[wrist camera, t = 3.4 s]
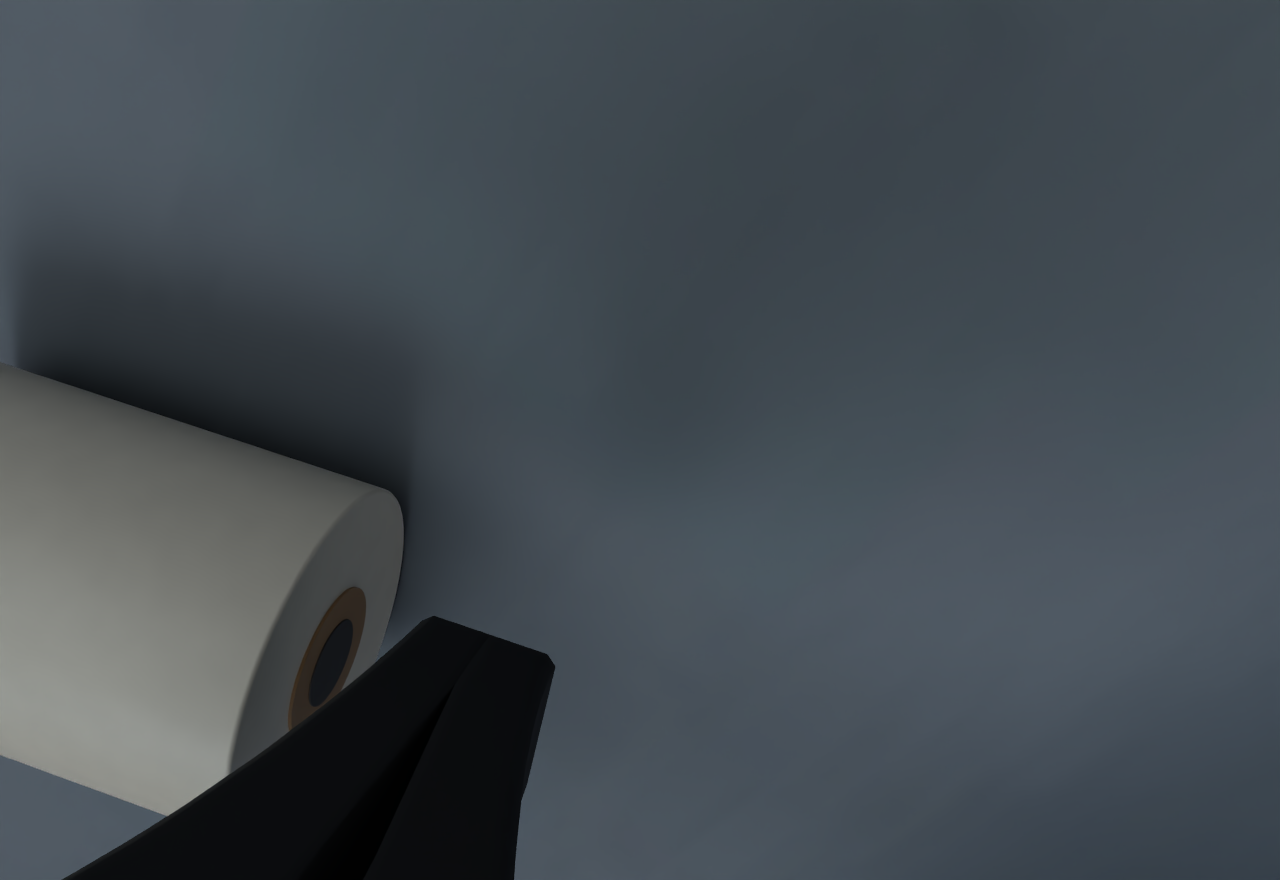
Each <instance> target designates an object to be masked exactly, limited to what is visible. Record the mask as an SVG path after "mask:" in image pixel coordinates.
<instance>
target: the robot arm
mask: <svg viewBox="0 0 1280 880" xmlns="http://www.w3.org/2000/svg"><path fill="white" fill-rule="evenodd" d="M554 670H555V665H554V664H553V662H552V661H551V659H550V658H549V656H548V655H547V654H545V653H542V652H539V651H536V650H533V649H530V648H527V647H524V646H521V645H519V644H516V643H513V642H510V641H507V640H504V639H501V638H498V637H495V636H492V635H489V634H486V633H483V632H480V631H477V630H474V629H471V628H468V627H465V626H462V625H460V624H457V623H454V622H451V621H448V620H445V619H442V618H439V617H436V616H432V617H430V618H428V619H425V620H423V621H421V622H420V623H419V624H418V625H417V626H416V627H415V628H414V629H413V630H412V631H411V632H409V633H408V634H407V635H406V636H405V637H404V638H403V639H402V640H401V641H400V642H398V643H397V644H396V645H395V646H394V647H393V648H392V649H391V650H389V651H388V652H387V653H386V654H385V655H384V656H383V657H381V658H380V659H379V660H378V661H377V662H376V663H374V664H373V665H372V666H371V667H370V668H368V669H367V670H366V671H365V672H364V673H363V674H361V675H360V676H359V677H358V678H356V679H355V680H354V681H353V682H352V683H350V684H349V685H348V686H347V687H345V688H344V689H343V690H342V691H341V692H339V693H338V694H337V695H336V696H334V697H333V698H332V699H331V700H329V701H328V702H327V703H326V704H324V705H323V706H322V707H320V708H319V709H318V710H316V711H315V712H314V713H312V714H311V715H310V716H309V717H307V718H306V719H305V720H303V721H302V722H301V723H299V724H298V725H297V726H295V727H294V728H293V729H291V730H290V731H289V732H288V733H286V734H285V735H284V736H282V737H281V738H280V739H278V740H277V741H276V742H274V743H273V744H272V745H270V746H269V747H268V748H266V749H265V750H264V751H262V752H261V753H259V754H258V755H257V756H255V757H254V758H252V759H251V760H250V761H248V762H247V763H245V764H244V765H242V766H241V767H239V768H238V769H236V770H235V771H234V772H232V773H231V774H229V775H228V776H226V777H225V778H223V779H222V780H220V781H219V782H218V783H216V784H215V785H213V786H212V787H210V788H209V789H207V790H206V791H204V792H203V793H202V794H200V795H199V796H197V797H196V798H194V799H193V800H191V801H190V802H188V803H187V804H185V805H184V806H182V807H181V808H179V809H178V810H176V811H175V812H173V813H172V814H170V815H169V816H167V817H165V818H164V819H162V820H161V821H159V822H158V823H156V824H154V825H153V826H151V827H150V828H148V829H147V830H145V831H143V832H142V833H140V834H138V835H137V836H135V837H134V838H132V839H130V840H129V841H127V842H125V843H124V844H122V845H121V846H119V847H117V848H115V849H114V850H112V851H110V852H109V853H107V854H105V855H104V856H102V857H100V858H98V859H97V860H95V861H93V862H92V863H90V864H88V865H87V866H85V867H83V868H81V869H80V870H78V871H76V872H75V873H73V874H71V875H69V876H68V877H66V878H64V879H62V880H514V872H515V857H516V846H517V836H518V826H519V817H520V807H521V800H522V797H523V794H524V791H525V788H526V785H527V782H528V778H529V773H530V769H531V765H532V761H533V757H534V753H535V749H536V745H537V740H538V736H539V732H540V728H541V724H542V720H543V716H544V711H545V707H546V703H547V699H548V695H549V691H550V687H551V683H552V678H553V674H554Z"/></svg>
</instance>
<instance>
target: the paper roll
mask: <svg viewBox="0 0 1280 880" xmlns="http://www.w3.org/2000/svg"><path fill="white" fill-rule="evenodd" d="M403 543H404V526H403V516H402V512H401V507H400V505H399V503H398V500H397V498H396V497H395V496H394V495H393V494H392V493H391V492H390V491H388V490H386V489H383V488H380V487H377V486H374V485H371V484H368V483H365V482H362V481H359V480H356V479H353V478H350V477H347V476H344V475H341V474H338V473H335V472H332V471H329V470H326V469H323V468H320V467H317V466H314V465H310V464H307V463H304V462H301V461H298V460H295V459H292V458H289V457H286V456H283V455H280V454H277V453H274V452H271V451H268V450H265V449H262V448H259V447H256V446H253V445H250V444H247V443H244V442H241V441H238V440H235V439H232V438H228V437H225V436H222V435H219V434H216V433H213V432H210V431H207V430H204V429H201V428H198V427H195V426H192V425H189V424H186V423H183V422H180V421H177V420H174V419H171V418H168V417H165V416H162V415H159V414H156V413H153V412H149V411H146V410H143V409H140V408H137V407H134V406H131V405H128V404H125V403H122V402H119V401H116V400H113V399H110V398H107V397H104V396H101V395H98V394H95V393H92V392H89V391H86V390H83V389H80V388H77V387H74V386H70V385H67V384H64V383H61V382H58V381H55V380H52V379H49V378H46V377H43V376H40V375H37V374H34V373H31V372H28V371H25V370H22V369H19V368H16V367H13V366H10V365H7V364H4V363H1V362H0V755H2V756H4V757H7V758H10V759H13V760H15V761H18V762H21V763H23V764H26V765H29V766H32V767H34V768H37V769H40V770H43V771H45V772H48V773H51V774H54V775H56V776H59V777H62V778H64V779H67V780H70V781H73V782H75V783H78V784H81V785H84V786H86V787H89V788H92V789H95V790H97V791H100V792H103V793H106V794H108V795H111V796H114V797H116V798H119V799H122V800H125V801H127V802H130V803H133V804H136V805H138V806H141V807H144V808H147V809H149V810H152V811H155V812H157V813H160V814H163V815H166V816H169V815H170V814H172V813H173V812H175V811H176V810H178V809H179V808H181V807H182V806H184V805H185V804H187V803H188V802H190V801H191V800H193V799H194V798H196V797H197V796H199V795H200V794H202V793H203V792H204V791H206V790H207V789H209V788H210V787H212V786H213V785H215V784H216V783H218V782H219V781H220V780H222V779H223V778H225V777H226V776H228V775H229V774H231V773H232V772H234V771H235V770H236V769H238V768H239V767H241V766H242V765H244V764H245V763H247V762H248V761H250V760H251V759H252V758H254V757H255V756H257V755H258V754H259V753H261V752H262V751H264V750H265V749H266V748H268V747H269V746H270V745H272V744H273V743H274V742H276V741H277V740H278V739H280V738H281V737H282V736H284V735H285V734H286V733H288V732H289V731H290V730H291V729H293V728H294V727H295V726H297V725H298V724H299V723H301V722H302V721H303V720H305V719H306V718H307V717H309V716H310V715H311V714H312V713H314V712H315V711H316V710H318V709H319V708H320V707H322V706H323V705H324V704H326V703H327V702H328V701H329V700H331V699H332V698H333V697H334V696H336V695H337V694H338V693H339V692H341V691H342V690H343V689H344V688H345V687H347V686H348V685H349V684H350V683H352V682H353V681H354V680H355V679H356V678H358V677H359V676H360V675H361V674H363V673H364V672H365V671H366V670H367V669H368V668H370V667H371V666H372V665H373V664H374V663H375V661H376V658H377V656H378V653H379V650H380V647H381V644H382V641H383V638H384V635H385V632H386V629H387V625H388V622H389V618H390V615H391V611H392V608H393V604H394V600H395V595H396V591H397V586H398V581H399V576H400V570H401V563H402V555H403Z"/></svg>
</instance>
